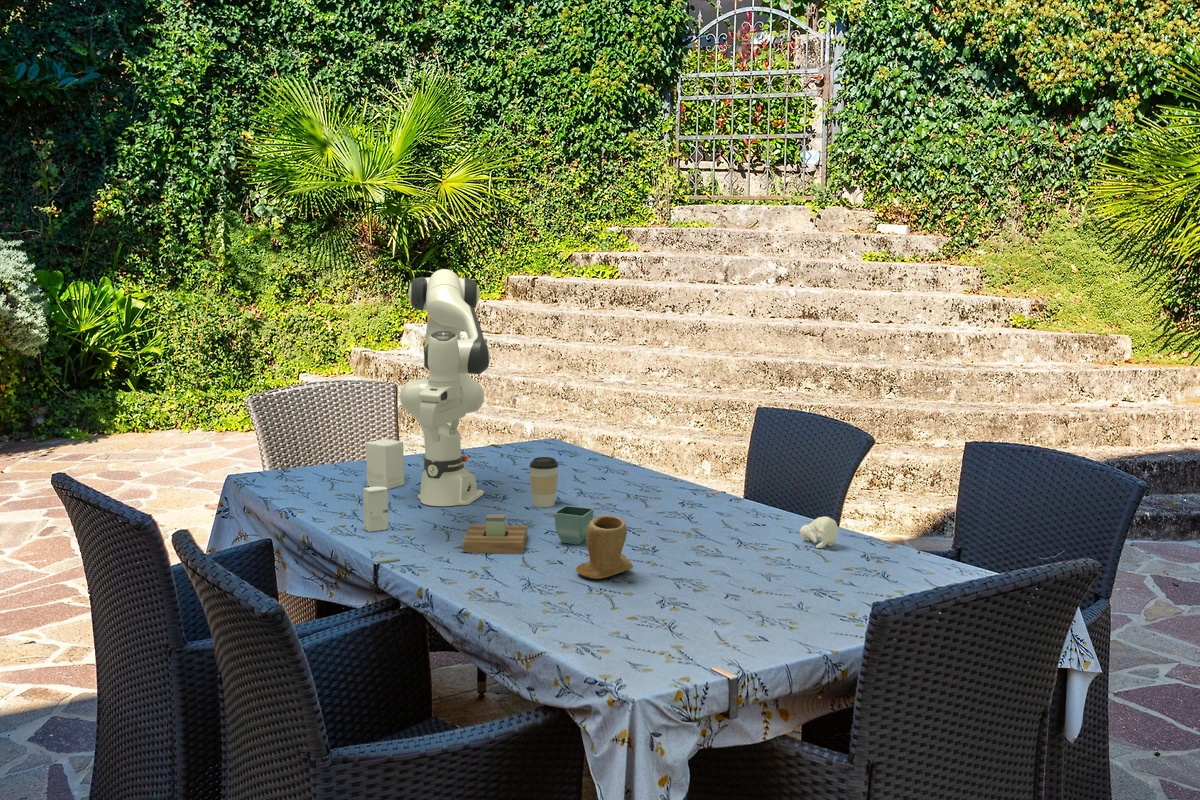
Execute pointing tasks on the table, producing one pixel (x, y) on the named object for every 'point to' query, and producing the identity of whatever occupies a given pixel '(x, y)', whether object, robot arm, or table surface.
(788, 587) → the table surface
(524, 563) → the table surface
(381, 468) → the supplement box
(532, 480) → the coffee cup
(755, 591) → the table surface
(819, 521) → the cream animal figurine
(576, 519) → the flower pot
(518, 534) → the walnut slot block
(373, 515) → the skincare box
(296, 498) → the table surface
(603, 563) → the stone cup
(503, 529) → the keyed peg
